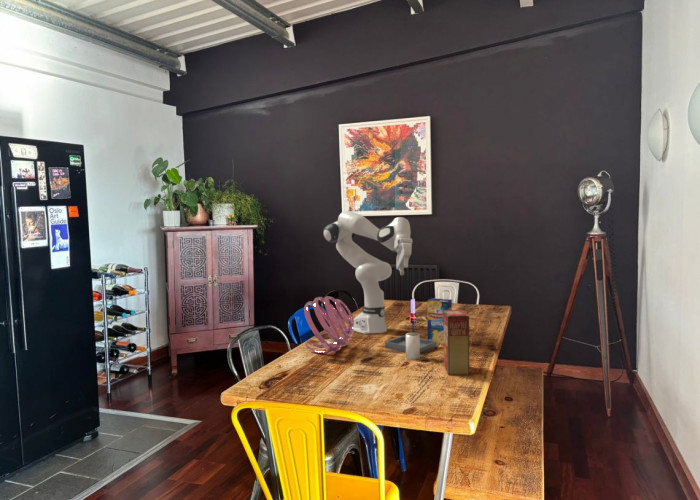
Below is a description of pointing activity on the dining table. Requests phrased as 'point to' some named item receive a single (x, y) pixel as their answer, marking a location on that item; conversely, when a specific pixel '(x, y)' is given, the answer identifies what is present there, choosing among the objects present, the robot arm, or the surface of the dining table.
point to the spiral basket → (330, 323)
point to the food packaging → (456, 342)
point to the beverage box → (436, 318)
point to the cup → (412, 346)
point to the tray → (401, 344)
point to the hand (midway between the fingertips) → (404, 271)
